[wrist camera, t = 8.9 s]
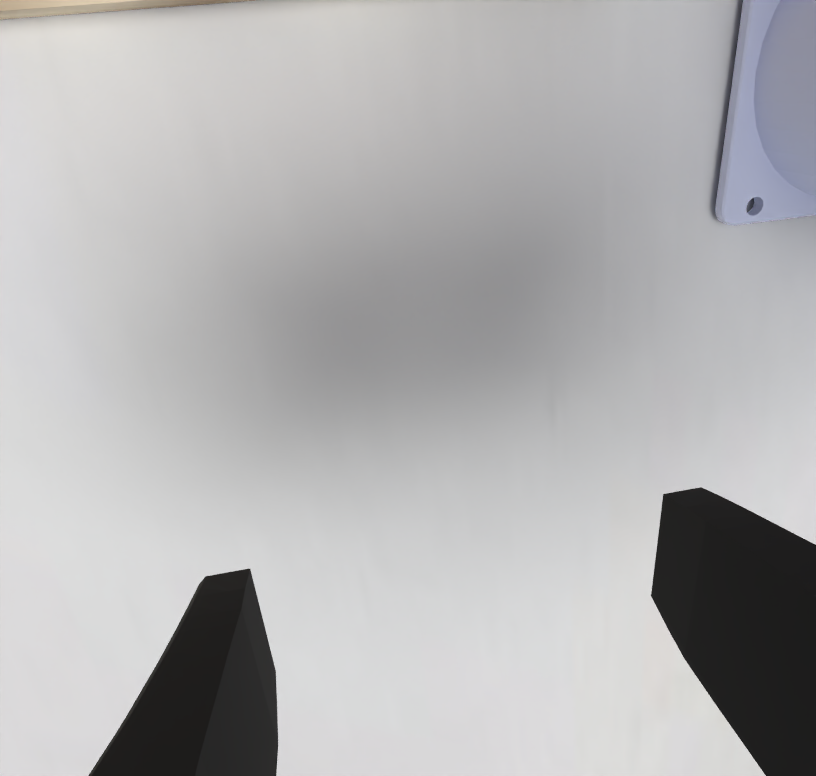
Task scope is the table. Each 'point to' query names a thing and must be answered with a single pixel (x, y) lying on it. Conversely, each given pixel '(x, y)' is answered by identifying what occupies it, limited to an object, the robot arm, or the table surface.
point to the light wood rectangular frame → (86, 6)
